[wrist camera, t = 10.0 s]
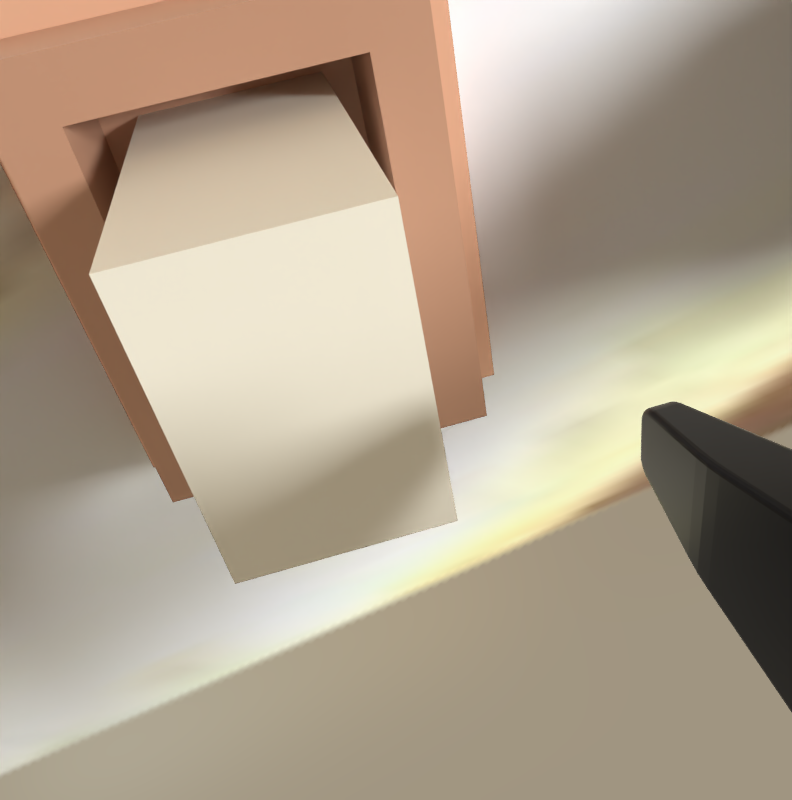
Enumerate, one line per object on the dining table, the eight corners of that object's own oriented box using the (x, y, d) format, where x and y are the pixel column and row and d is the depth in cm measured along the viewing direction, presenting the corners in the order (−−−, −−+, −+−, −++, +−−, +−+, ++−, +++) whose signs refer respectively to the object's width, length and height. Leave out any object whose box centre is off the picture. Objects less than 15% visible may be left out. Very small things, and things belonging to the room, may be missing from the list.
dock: (418, -126, 15) (476, -130, 12) (481, 353, 22) (530, 436, 19) (-67, -15, 15) (-149, 14, 11) (156, 441, 22) (146, 543, 18)
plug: (321, 71, 16) (398, 195, 9) (375, 311, 19) (457, 521, 13) (138, 115, 16) (88, 274, 9) (226, 350, 19) (235, 583, 13)
